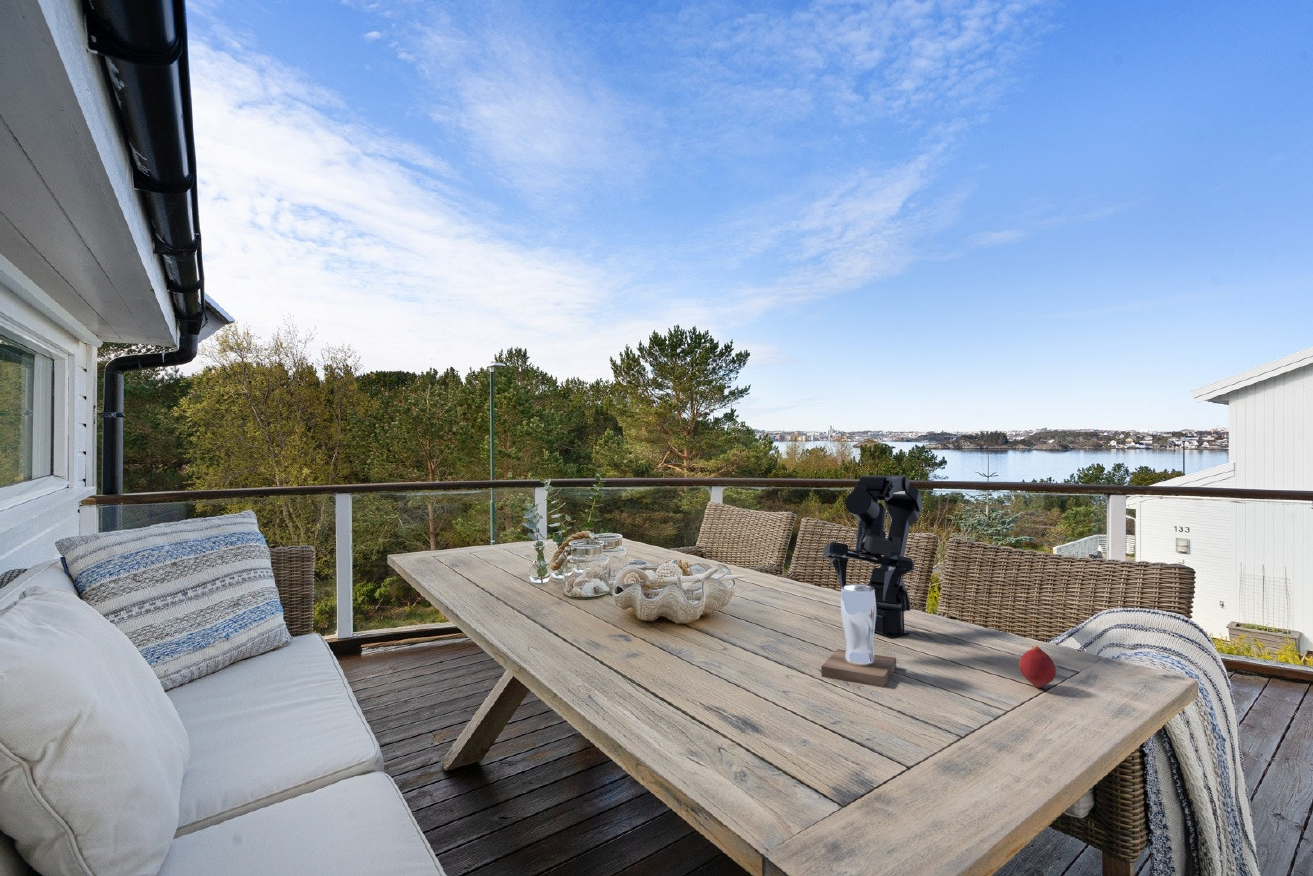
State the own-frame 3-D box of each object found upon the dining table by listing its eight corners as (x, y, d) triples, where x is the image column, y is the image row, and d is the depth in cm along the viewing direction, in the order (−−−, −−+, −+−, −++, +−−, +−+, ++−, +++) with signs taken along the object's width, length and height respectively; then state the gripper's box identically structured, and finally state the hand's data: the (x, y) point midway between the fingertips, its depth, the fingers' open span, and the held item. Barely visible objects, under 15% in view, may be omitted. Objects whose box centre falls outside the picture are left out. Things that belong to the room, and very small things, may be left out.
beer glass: (880, 658, 128) (878, 585, 128) (874, 669, 122) (872, 593, 122) (846, 653, 132) (844, 582, 132) (838, 664, 125) (836, 589, 126)
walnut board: (838, 658, 135) (837, 649, 135) (896, 667, 128) (896, 657, 128) (821, 676, 124) (821, 666, 124) (884, 687, 118) (883, 676, 118)
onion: (1051, 683, 118) (1050, 641, 118) (1060, 695, 113) (1058, 651, 113) (1016, 680, 120) (1015, 638, 120) (1023, 691, 115) (1022, 648, 115)
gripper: (840, 511, 135) (832, 583, 130) (926, 529, 134) (921, 602, 129) (826, 522, 145) (818, 588, 140) (906, 538, 144) (900, 606, 139)
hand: (864, 596), depth 137 cm, fingers open, 9 cm apart
